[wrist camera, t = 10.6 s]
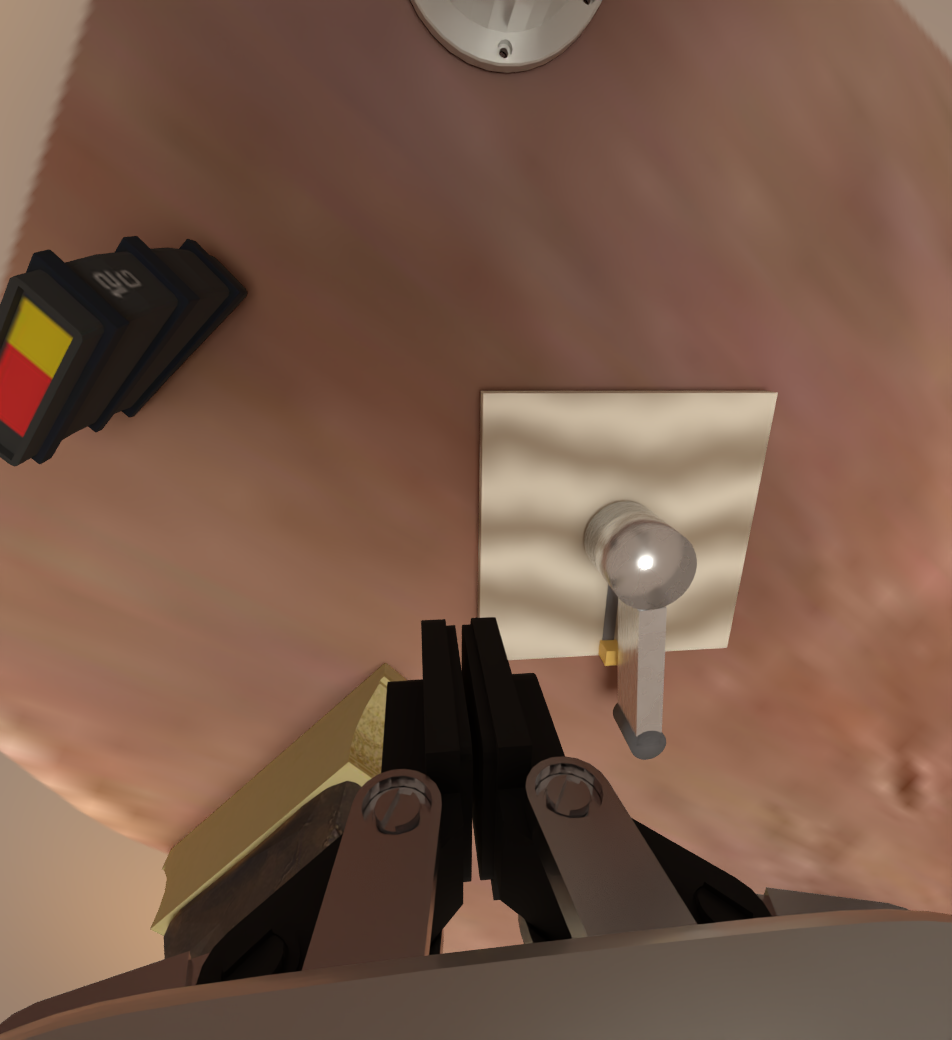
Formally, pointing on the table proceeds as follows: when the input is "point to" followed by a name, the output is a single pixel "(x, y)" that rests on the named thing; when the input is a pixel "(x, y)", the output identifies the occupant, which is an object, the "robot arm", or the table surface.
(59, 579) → the table surface
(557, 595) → the dial base
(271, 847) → the decorative clock
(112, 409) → the black box
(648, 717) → the capstan lever
